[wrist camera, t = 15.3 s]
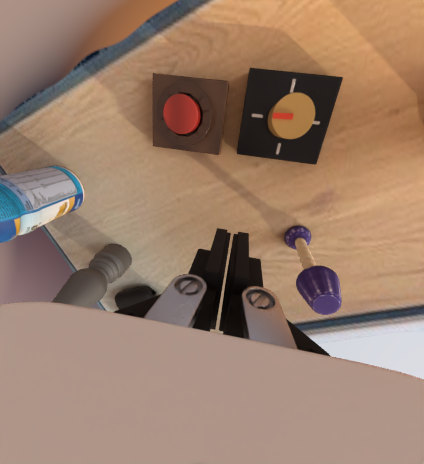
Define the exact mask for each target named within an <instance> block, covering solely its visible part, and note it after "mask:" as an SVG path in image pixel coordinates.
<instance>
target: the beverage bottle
mask: <svg viewBox="0 0 424 464" xmlns="http://www.w3.org/2000/svg"><path fill="white" fill-rule="evenodd" d="M83 201H84V189H83V186H82V184H81V182H80V180H79V179H78V177H77V176H76V175H75V174H74V173H72V172H71V171H70V170H68V169H66V168H64V167H60V166H50V167H46V168H42V169H36V170H31V171H25V172H19V173H14V174H8V175H0V243H2V242H6V241H10V240H12V239H14V238H15V237H16V236H17V235H23V234H26V233H29V232H31V231H33V230H35V229H36V228H37V227H39V226H42V225H44V224H46V223H48V222H50V221H52V220H54V219H56V218H58V217H60V216H63V215H65V214H67V213H69V212H71V211H74V210H76V209H78V208H79V207H80V206H81V205H82V203H83Z"/></svg>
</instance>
